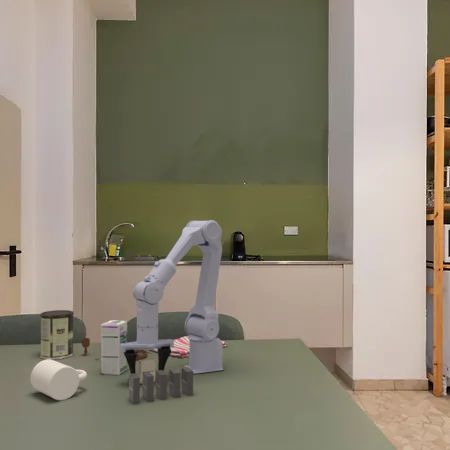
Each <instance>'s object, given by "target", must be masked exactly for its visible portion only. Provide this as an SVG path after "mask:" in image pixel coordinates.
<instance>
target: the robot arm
mask: <svg viewBox="0 0 450 450" xmlns="http://www.w3.org/2000/svg"><path fill="white" fill-rule="evenodd" d="M222 233H223V229H222V227H221V226H220V225H219V223H218V222H217V221H216V220H213V219H209V220H190V221H189V222H188V223H186V226H185V227H184V228H182V232H181V236H180V237H179V239H178V240H177V241H176V243H175V244H174V246H173V248H172V249H171V250H170V251H169V252H168V255H167V256H166V257H165V258H164V259H163V258H162V259H159V260H158V261H157V260H156V261H155V263H154V264H153V265H154V266H153V268H152V269H151V270H150V272H149V273H148V275H145V277H144V278H143V279H144V280H142V281H140V282H138V283H137V284H136V286H135V287H134V290H133V291H132V296H133V298H134V300H135V301H136V340H135V341H134V342H129V343H123V344H120V351H121V352H123V353H124V355H125V357H126V360H127V365H128V368H129V369H128V370H129V371H130V373H129V374H133V373H136V366H137V365H136V363H137V360H136V357H138V354H135V352H134V351H136V350H145V351H146V350H150V349H156V348H157V349H158V352H157V355H158V358H157V359H158V366H157V371H158V370H163V371H164V372H165V367H166V364H167V361H168V359H169V357H170V354H171V349H170V348H172V347H174V340H175V339H172V338H169V339H167V338H166V339H163V338H162V339H159V302H160V301H161V300H162V299H163V297H164V290H165V288H166V286H167V285H168V283H169V282H170V281H171V279H172V278H173V277H174V275H175V274H176V272H177V269H176V266H177V264H178V263H179V262H180V261H181V260H183V258H184V257H185V255H186V254H187V253H188V252H189V251H190V250H191V248H192V247H194V246H197V247H198V248H199V249H200V251H201V252H202V260H201V266H200V271H199V272H200V273H199V278H198V286H197V292H196V298H195V304H194V305H193V307H191V309H189V311H188V315H187V318H186V319H185V322H184V331H185V333H186V334H187V336H188V338H190V340H189V357H188V360H189V362H188V363H189V364H187V365H184V367H188V368H190V369H191V370H192V371H193V375H196V374H204V373H211V372H217V371H219V372H220V371H224V367H223V358H224V357H223V350H224V347H223V348H222V343H221V341H222V340H221V339H220V338H219V337H218V335H219V333H220V324H219V316H220V315H219V313H218V312H217V311H216V309H215V308H214V306H215V302H216V301H215V300H216V293H217V287H218V280H219V274H220V268H221V260H222V254H223V246H222ZM136 374H137V373H136Z"/></svg>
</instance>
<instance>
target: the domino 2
mask: <svg viewBox="0 0 450 450" xmlns="http://www.w3.org/2000/svg"><path fill="white" fill-rule="evenodd" d="M138 361H139V362H138V369H139V370H138V371H139V372H138V376H139V377H140V385H141V384H142V385H143V372H150V373H151V374H152V375H153V376H154V383H156V358H152V357H151V358H144V359H141V360H138Z"/></svg>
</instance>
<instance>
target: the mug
mask: <svg viewBox="0 0 450 450" xmlns="http://www.w3.org/2000/svg"><path fill="white" fill-rule="evenodd" d="M87 373H88V372H86V371H85V370H83V369H75V368H74V367H72V366H70V365H67V364H64V363H62V362H60V361H56V360H51V359H43V360H41V361H40V362H38V363H37V364H36V365H35V366H34V367H33V368H32V370H31V373H30V383H31V384H30V385H31V386H32V388H33V389H35V390H36V391H38V392H40V393H42V394H44V395H46V396H48V397H50V398H52V399H54V400H56V401H65V400H68V399H69V398H71V397H72V396H73V395H74V394H75V393H76V391H77V389H78V388H79V385H80V382H81V381H83V380H85V379H86V378H87V377H88V374H87Z"/></svg>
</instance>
